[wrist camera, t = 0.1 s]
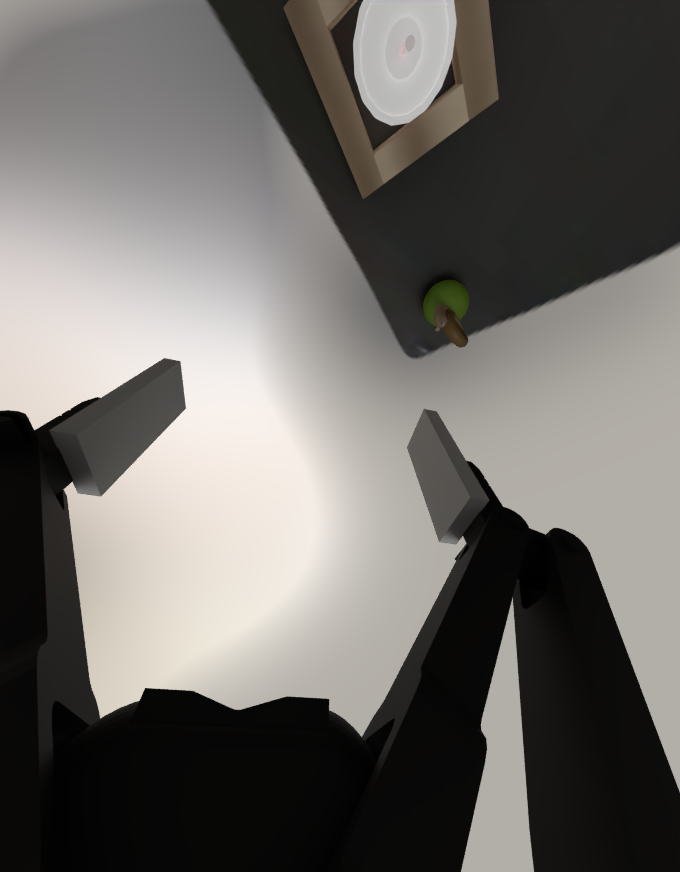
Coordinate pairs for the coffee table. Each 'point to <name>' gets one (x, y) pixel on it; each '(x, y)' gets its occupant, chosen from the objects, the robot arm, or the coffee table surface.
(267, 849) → the robot arm
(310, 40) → the socket holder
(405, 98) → the beverage cup
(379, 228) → the coffee table surface
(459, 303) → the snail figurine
